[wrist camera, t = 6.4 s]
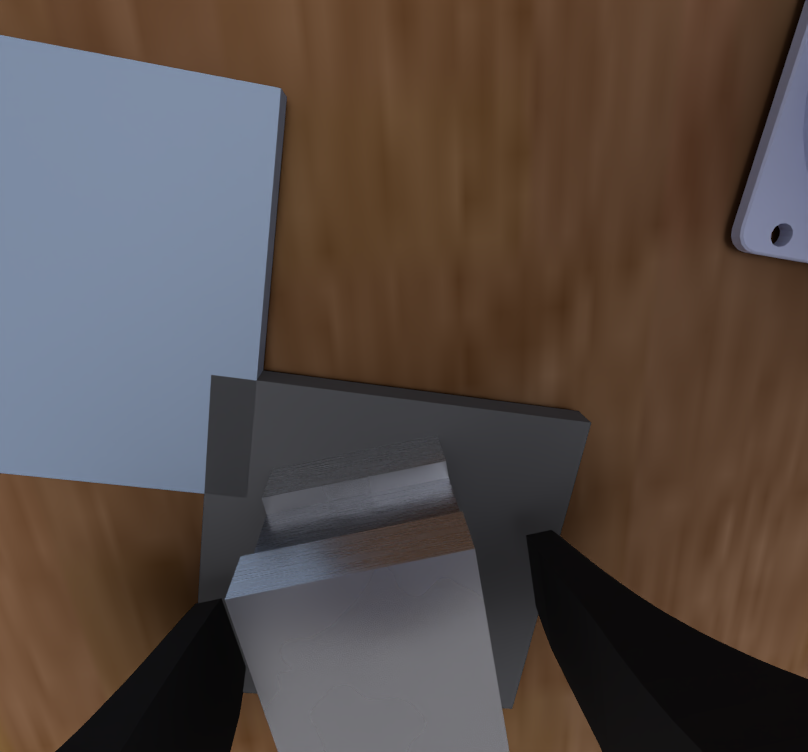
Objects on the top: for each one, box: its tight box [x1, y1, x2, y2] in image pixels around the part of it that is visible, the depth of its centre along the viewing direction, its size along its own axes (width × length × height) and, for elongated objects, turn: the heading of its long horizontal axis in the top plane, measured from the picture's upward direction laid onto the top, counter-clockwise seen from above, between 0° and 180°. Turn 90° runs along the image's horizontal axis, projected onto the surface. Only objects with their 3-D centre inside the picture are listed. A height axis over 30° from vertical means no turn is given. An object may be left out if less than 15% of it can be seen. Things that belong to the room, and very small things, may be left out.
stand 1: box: [0, 35, 287, 494], centre depth 11 cm, size 9×9×1 cm
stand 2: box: [198, 371, 591, 709], centre depth 14 cm, size 9×9×1 cm
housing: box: [225, 435, 509, 752], centre depth 11 cm, size 6×4×4 cm, turn 11°
